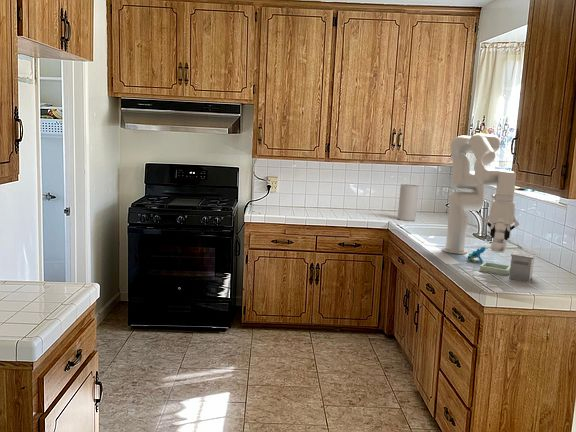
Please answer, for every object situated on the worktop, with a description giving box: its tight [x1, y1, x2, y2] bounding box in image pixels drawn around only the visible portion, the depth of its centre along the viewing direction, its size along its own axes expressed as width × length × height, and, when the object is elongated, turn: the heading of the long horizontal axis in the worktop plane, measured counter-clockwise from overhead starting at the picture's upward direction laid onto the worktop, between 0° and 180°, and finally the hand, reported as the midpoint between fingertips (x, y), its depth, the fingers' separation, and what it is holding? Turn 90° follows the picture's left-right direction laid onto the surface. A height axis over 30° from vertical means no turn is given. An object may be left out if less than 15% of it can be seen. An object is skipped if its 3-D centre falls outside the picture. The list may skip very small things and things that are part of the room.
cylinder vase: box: [397, 183, 420, 222], centre depth 399 cm, size 12×12×25 cm
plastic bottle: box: [490, 218, 507, 254], centre depth 250 cm, size 6×7×20 cm
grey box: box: [508, 250, 537, 283], centre depth 242 cm, size 11×9×11 cm
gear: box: [467, 246, 487, 263], centre depth 271 cm, size 11×6×10 cm
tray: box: [479, 261, 511, 276], centre depth 253 cm, size 12×12×2 cm
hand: (499, 238), depth 251 cm, fingers closed on plastic bottle, 5 cm apart
